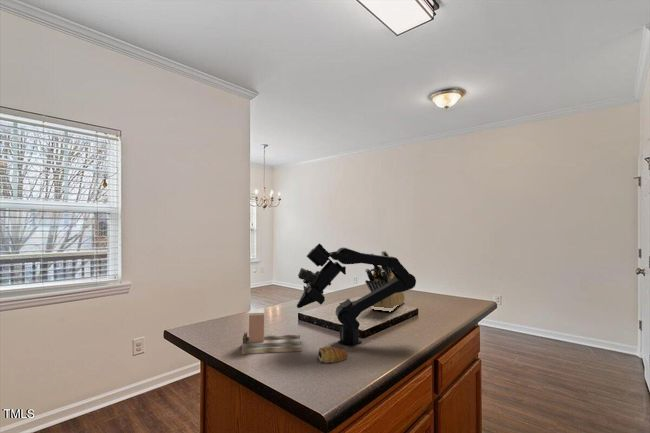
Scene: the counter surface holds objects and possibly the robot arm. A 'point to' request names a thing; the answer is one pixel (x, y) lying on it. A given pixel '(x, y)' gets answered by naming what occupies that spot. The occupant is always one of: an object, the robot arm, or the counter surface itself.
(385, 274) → the knife block
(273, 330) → the counter surface
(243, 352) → the track
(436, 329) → the counter surface
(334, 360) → the pastry
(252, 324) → the pink tall block
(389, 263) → the robot arm
